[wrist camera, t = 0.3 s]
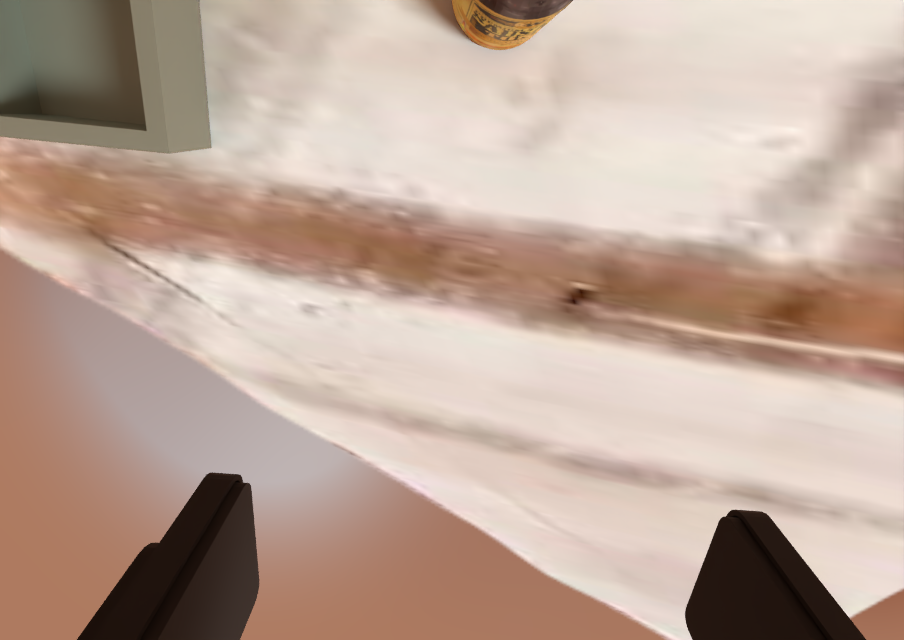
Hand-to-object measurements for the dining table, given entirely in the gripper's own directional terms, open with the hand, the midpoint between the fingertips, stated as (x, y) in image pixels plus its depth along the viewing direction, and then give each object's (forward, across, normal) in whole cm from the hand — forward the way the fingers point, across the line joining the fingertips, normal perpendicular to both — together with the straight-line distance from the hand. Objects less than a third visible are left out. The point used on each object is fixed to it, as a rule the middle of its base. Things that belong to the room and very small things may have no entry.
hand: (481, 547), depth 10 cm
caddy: (+31, +25, -10) cm, 41 cm away
